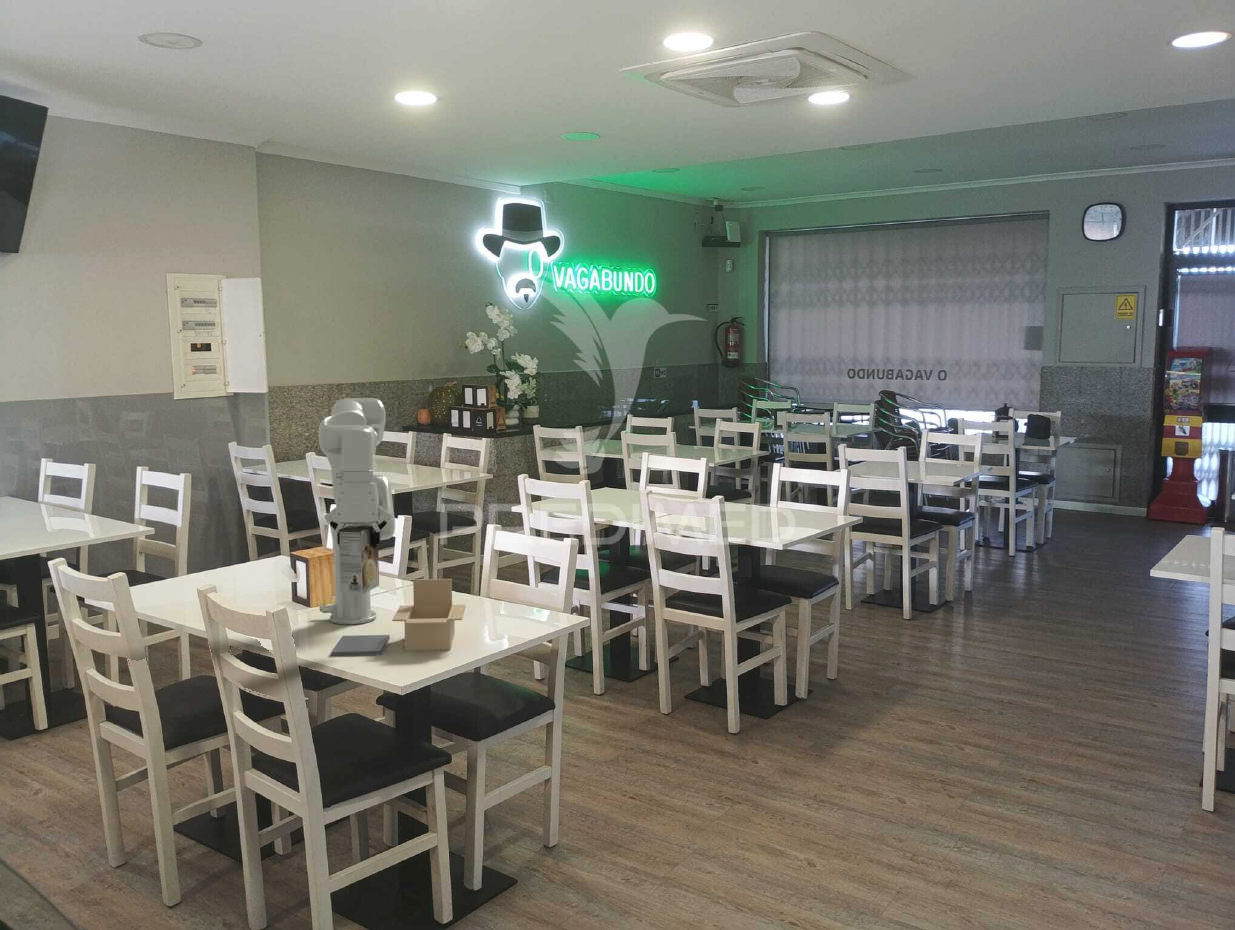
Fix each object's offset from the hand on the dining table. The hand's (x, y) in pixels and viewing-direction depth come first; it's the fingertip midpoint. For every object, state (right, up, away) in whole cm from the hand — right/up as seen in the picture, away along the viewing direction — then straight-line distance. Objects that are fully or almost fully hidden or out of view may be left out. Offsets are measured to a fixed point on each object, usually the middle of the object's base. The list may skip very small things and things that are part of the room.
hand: (359, 546), depth 236 cm
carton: (+17, -25, +6) cm, 31 cm away
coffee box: (0, -11, +1) cm, 11 cm away
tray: (0, -26, +3) cm, 26 cm away
